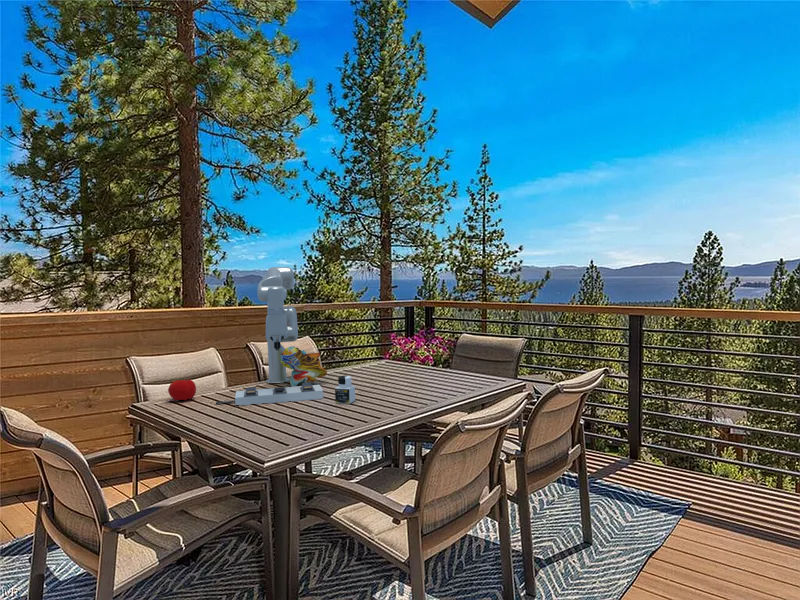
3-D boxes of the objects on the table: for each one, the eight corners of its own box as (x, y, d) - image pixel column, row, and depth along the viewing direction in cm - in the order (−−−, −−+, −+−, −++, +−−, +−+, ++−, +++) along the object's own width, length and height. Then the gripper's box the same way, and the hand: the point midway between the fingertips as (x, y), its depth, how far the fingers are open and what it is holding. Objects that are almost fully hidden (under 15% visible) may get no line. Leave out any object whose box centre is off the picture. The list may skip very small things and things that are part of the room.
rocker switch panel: (216, 401, 250) (216, 391, 249) (319, 392, 263) (319, 383, 262) (214, 408, 236) (213, 398, 236) (323, 398, 249) (322, 389, 249)
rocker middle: (274, 390, 251) (274, 387, 251) (283, 389, 252) (283, 386, 252) (274, 391, 244) (274, 387, 244) (284, 390, 245) (284, 387, 245)
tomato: (190, 403, 247) (189, 380, 247) (164, 403, 247) (163, 381, 247) (201, 396, 261) (200, 375, 260) (176, 397, 261) (175, 376, 260)
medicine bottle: (335, 403, 240) (334, 377, 239) (341, 399, 246) (340, 374, 246) (349, 404, 237) (348, 377, 237) (355, 400, 244) (354, 374, 244)
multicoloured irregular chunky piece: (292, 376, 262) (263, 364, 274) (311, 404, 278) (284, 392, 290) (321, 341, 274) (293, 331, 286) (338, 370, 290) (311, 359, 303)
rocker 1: (246, 390, 247) (246, 387, 247) (255, 389, 248) (255, 386, 248) (246, 396, 241) (245, 393, 240) (255, 395, 242) (255, 392, 242)
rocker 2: (301, 385, 254) (301, 383, 254) (311, 385, 255) (310, 382, 255) (303, 391, 248) (303, 388, 247) (312, 390, 249) (312, 387, 248)
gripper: (291, 311, 259) (292, 348, 260) (260, 312, 255) (261, 349, 256) (292, 312, 252) (293, 350, 253) (260, 313, 248) (261, 352, 249)
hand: (277, 349), depth 254 cm, fingers closed
